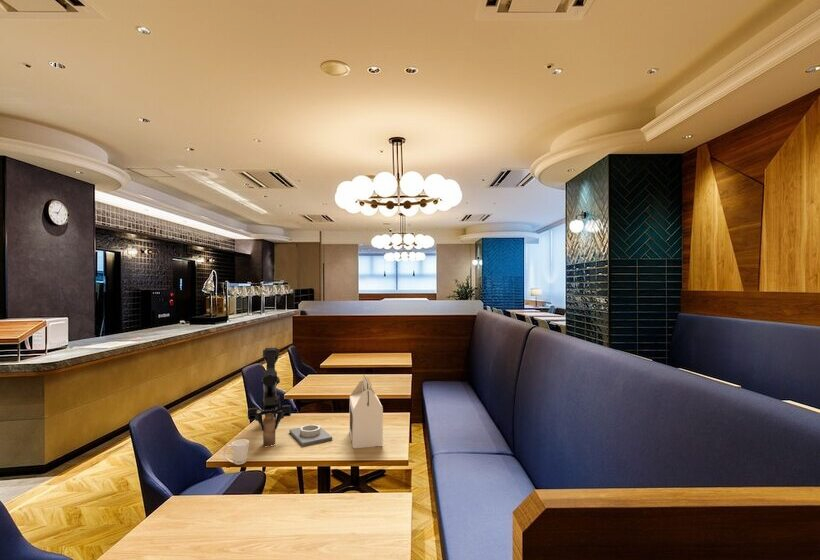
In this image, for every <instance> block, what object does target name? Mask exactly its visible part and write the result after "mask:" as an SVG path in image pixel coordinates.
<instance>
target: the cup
mask: <svg viewBox="0 0 820 560" xmlns="http://www.w3.org/2000/svg"><path fill="white" fill-rule="evenodd" d="M249 447H250V441H249V439H244V438H243V439H237V440H234V441H231V443H230V444H227V445H226V446H225V447H224V449H223V452H222V456H223V458H224V459H225V460H227V461H229V463H231V464H234V465H239V466H240V465H243V464H245V463H246V462H247V461H246V460H247V456H248V452H249ZM227 448H231V451H232V456H233V460H234V461H233V460H231V459H230V458H228V457H227V456H226V454H225V453H226V449H227Z"/></svg>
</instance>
